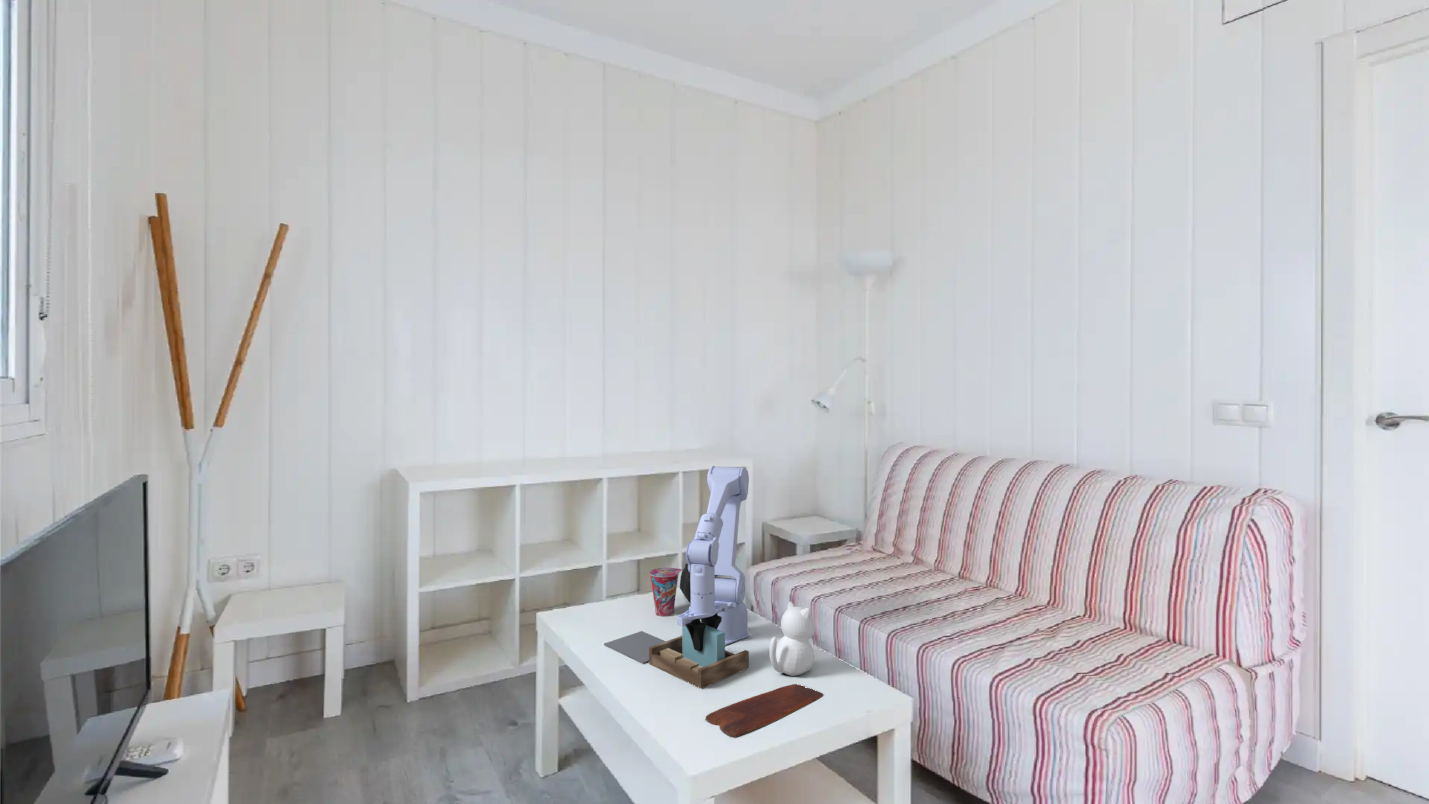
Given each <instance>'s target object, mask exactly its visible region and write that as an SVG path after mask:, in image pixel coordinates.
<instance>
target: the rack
mask: <svg viewBox="0 0 1429 804" xmlns="http://www.w3.org/2000/svg"><path fill="white" fill-rule="evenodd" d="M665 641H666V642H663V643H660V644H657V645H654V646H652V647H649V662H648V664H649V665H650V666H652V667H655V668H657V669H659V670H661V671H663V672H666V673H667V674H670V675H671V676H673V677H675V678H677V679H679V680H682V681H684V682H686V683H688V682H689V683H688V684H690V685H692V684H693V685H692V686H694V685H695V686H694V687H696V688H698V687H699V688H698V689H700V688H702V689H704V688H706V687H709V686H711V685H713V684H715V682H716V683H718V682H720V681H723V680H725V679H727V678H730V677H732V676H735V675H736V674H739V673H741V672H743V671H745V670H748V669H749V667H750V663H749V662H750V659H749V658H750V657H749V654H750V652H749V650H747V649H744V650H742V651H739V652H736V653H733V652H732V651H728V650H726V649H725V659H722V660H720V661H717V662H715V663H712V664H710V665H707V666H705V667H702V668H700V669H698V673H696V672H694V671H692V670H690V669H688V668H685V667H683V666H681V665H679V664H677V663H675V662H672V661H670V660H668V659H666V658H664V657H661V656H660V651H661V650H664V649H667V648H669V649H671V650H674V651H676V652H678V653H680V654H682V635H680V636H677V637H675V638H672V639H669V640H665ZM729 676H730V677H729ZM722 679H723V680H722ZM710 684H711V685H710ZM708 685H709V686H708Z"/></svg>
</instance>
